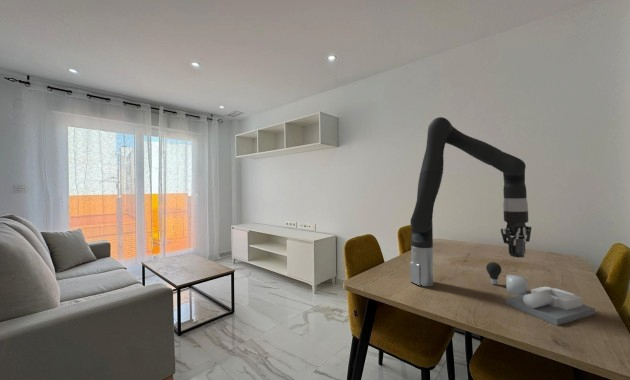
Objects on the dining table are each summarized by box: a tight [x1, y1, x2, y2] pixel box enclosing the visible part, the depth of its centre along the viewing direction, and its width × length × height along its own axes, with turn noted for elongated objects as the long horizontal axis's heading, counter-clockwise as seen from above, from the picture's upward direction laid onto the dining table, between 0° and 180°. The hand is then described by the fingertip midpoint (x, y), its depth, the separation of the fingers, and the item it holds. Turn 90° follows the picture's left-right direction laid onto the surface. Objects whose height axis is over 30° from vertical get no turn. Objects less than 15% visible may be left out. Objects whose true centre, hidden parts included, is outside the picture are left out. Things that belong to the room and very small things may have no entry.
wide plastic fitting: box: [505, 274, 528, 296], centre depth 107 cm, size 7×7×6 cm
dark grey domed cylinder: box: [509, 237, 526, 258], centre depth 99 cm, size 4×4×7 cm
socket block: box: [505, 285, 596, 326], centre depth 92 cm, size 20×16×6 cm
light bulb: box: [485, 261, 502, 286], centre depth 115 cm, size 6×6×10 cm
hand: (517, 253), depth 99 cm, fingers closed on dark grey domed cylinder, 4 cm apart
